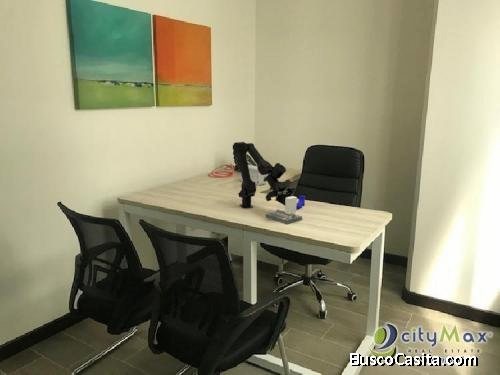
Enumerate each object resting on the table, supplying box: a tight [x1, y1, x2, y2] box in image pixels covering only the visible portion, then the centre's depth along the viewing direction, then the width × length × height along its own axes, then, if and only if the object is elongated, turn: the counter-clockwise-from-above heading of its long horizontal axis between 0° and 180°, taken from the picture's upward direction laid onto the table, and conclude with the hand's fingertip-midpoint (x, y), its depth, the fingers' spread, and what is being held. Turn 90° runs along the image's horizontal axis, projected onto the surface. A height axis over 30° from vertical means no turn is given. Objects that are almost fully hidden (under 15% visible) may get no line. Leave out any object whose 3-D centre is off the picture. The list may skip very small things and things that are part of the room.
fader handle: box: [284, 195, 298, 217], centre depth 214 cm, size 3×6×11 cm, turn 131°
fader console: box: [265, 208, 303, 225], centre depth 219 cm, size 16×12×3 cm
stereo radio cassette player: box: [240, 160, 267, 186], centre depth 305 cm, size 21×8×20 cm, turn 46°
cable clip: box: [296, 195, 306, 211], centre depth 242 cm, size 12×4×6 cm, turn 143°
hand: (288, 206), depth 216 cm, fingers closed
